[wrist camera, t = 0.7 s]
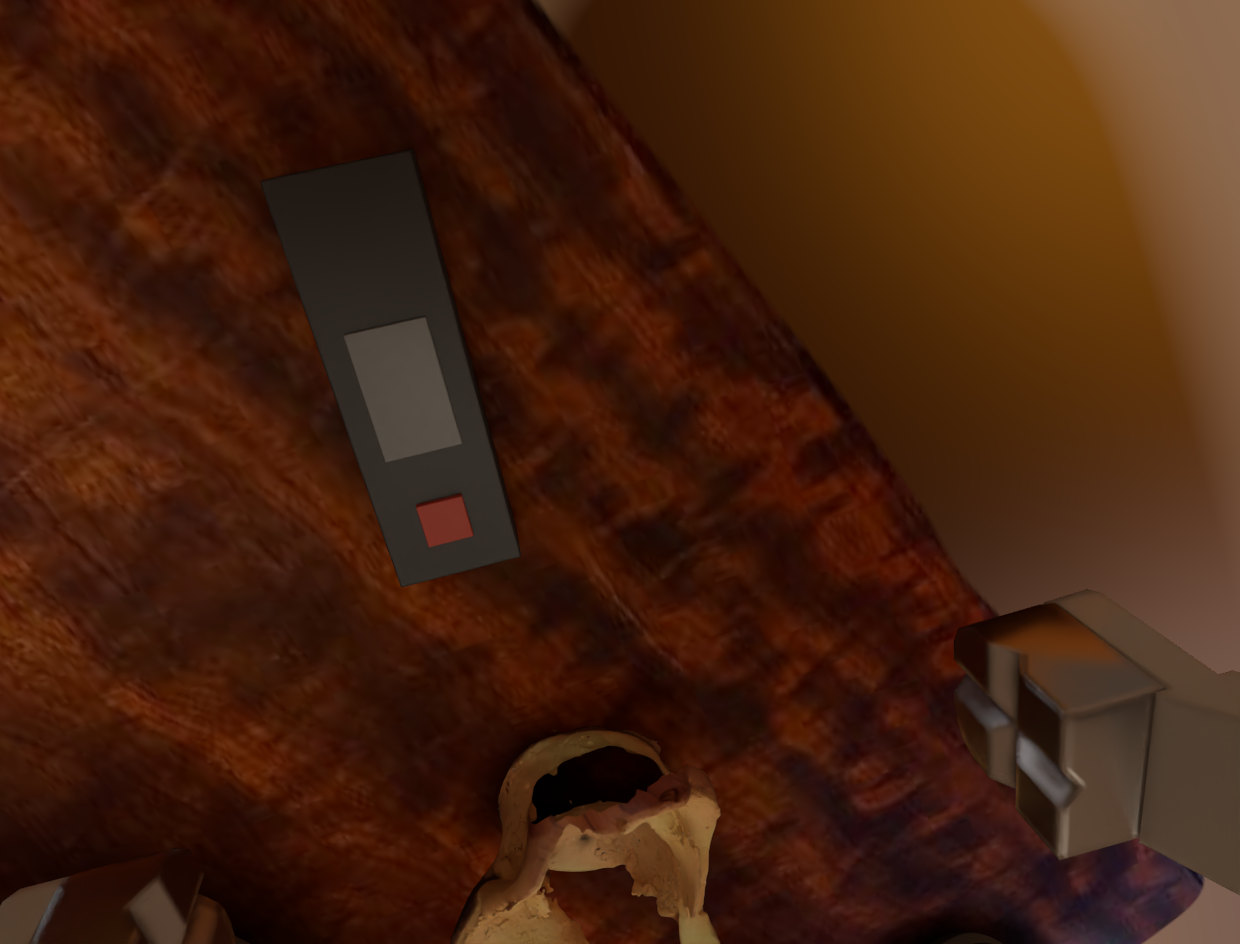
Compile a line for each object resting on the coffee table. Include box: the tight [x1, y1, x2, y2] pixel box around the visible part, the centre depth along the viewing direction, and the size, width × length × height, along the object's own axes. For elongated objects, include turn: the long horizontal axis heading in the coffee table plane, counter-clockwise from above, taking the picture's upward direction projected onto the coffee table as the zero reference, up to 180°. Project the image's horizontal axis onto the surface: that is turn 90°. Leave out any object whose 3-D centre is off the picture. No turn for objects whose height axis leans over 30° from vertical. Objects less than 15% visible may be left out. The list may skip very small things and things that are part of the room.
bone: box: [451, 726, 721, 944], centre depth 34 cm, size 12×10×8 cm
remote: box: [261, 149, 521, 587], centre depth 28 cm, size 14×4×3 cm, turn 11°
